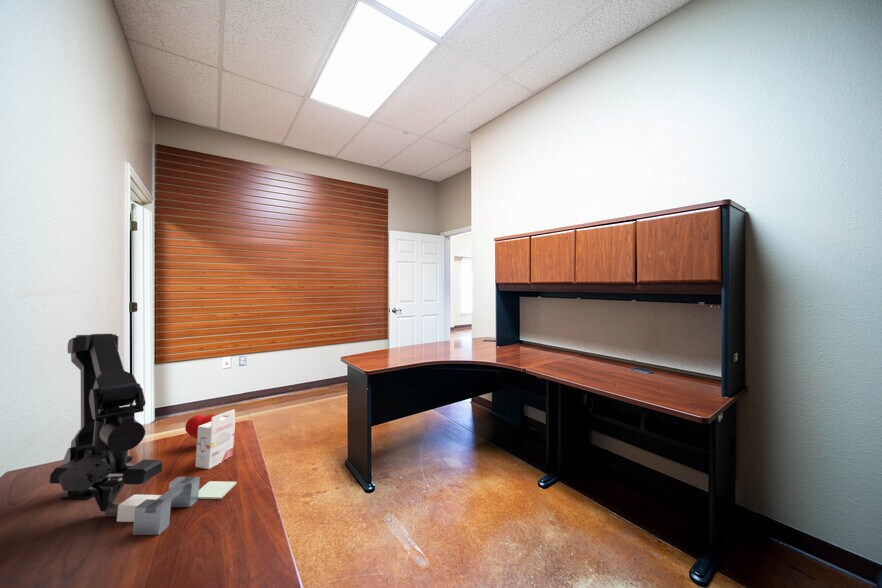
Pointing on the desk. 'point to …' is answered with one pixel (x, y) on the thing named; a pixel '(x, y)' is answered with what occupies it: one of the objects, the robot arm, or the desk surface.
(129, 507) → the plug
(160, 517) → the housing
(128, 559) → the desk surface
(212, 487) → the mat
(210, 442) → the ink cartridge box
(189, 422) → the red rounded lobed piece
